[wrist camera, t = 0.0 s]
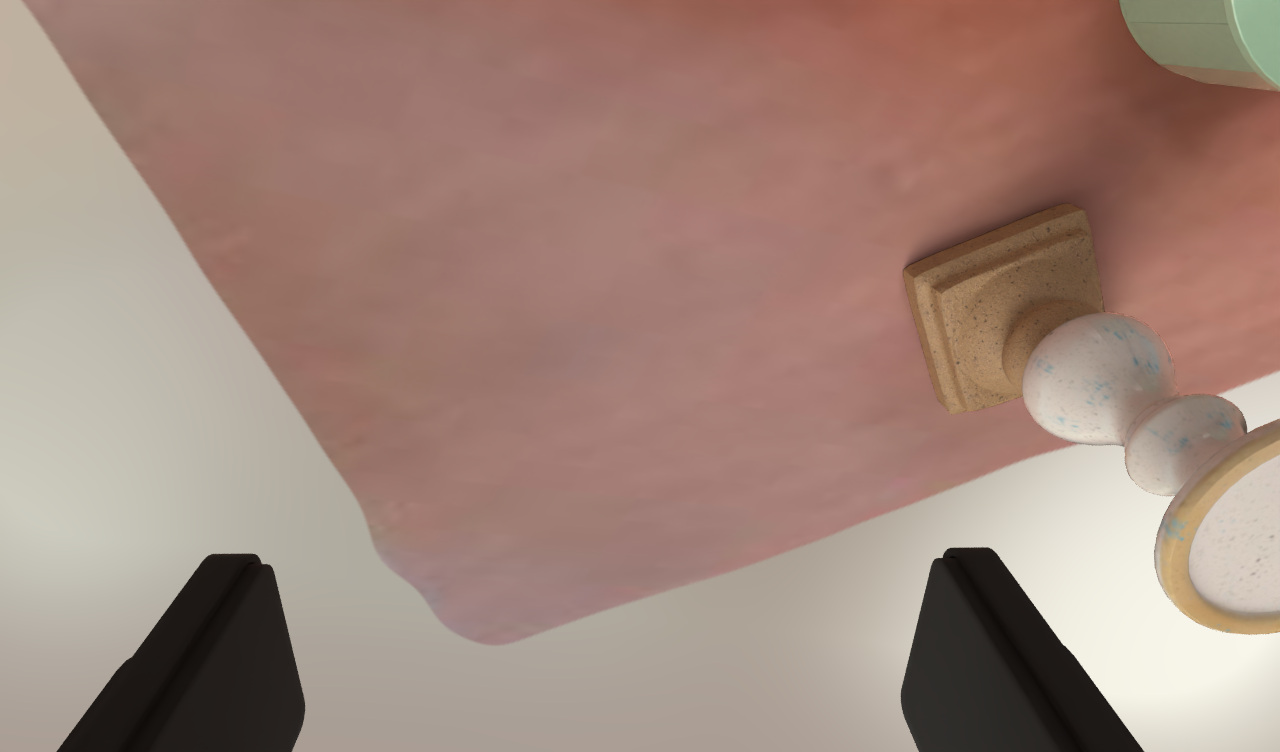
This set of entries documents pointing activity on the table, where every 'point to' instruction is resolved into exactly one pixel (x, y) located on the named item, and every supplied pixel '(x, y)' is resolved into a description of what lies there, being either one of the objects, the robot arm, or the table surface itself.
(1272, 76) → the pot lid
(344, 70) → the table surface
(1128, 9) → the pot
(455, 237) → the table surface
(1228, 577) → the candle holder
